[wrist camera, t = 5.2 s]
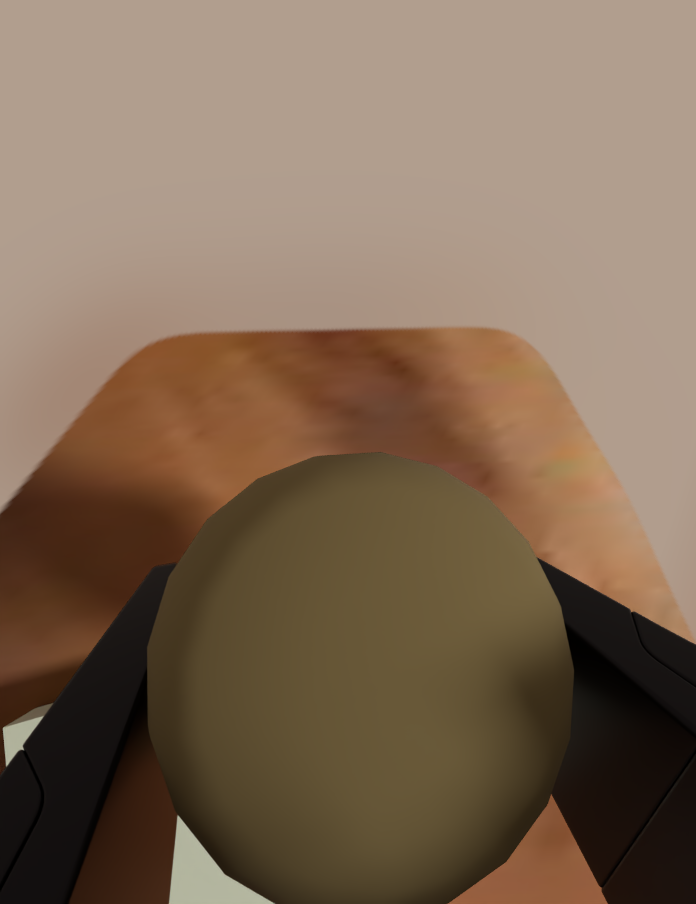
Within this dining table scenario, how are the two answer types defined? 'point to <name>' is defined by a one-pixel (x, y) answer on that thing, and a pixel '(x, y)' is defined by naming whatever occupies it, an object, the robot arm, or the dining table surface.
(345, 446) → the dining table surface
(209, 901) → the base brick
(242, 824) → the cork
